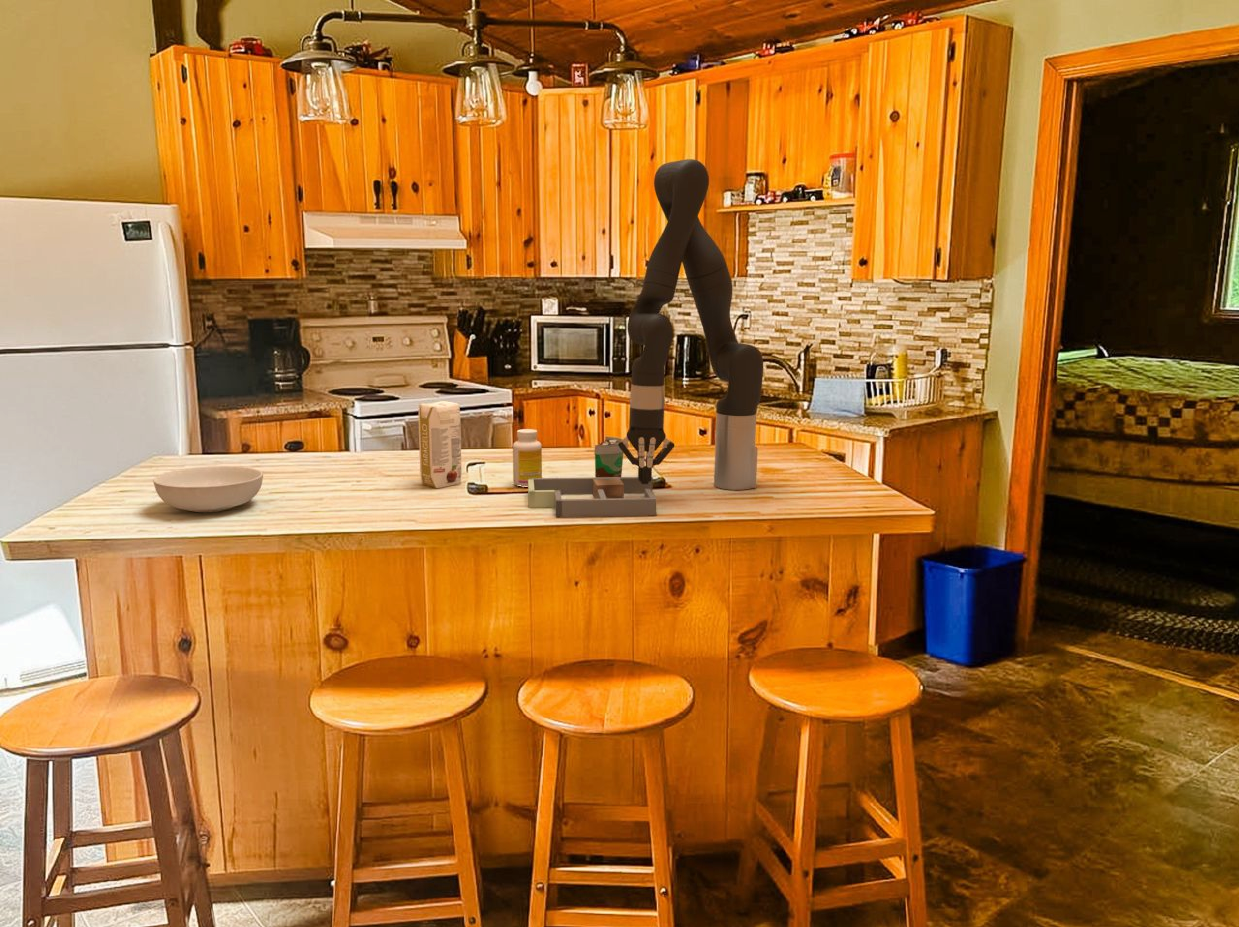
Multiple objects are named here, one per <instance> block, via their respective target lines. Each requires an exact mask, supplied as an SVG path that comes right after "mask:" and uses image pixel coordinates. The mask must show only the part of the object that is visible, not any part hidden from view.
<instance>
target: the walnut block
mask: <svg viewBox="0 0 1239 927" xmlns="http://www.w3.org/2000/svg"><path fill="white" fill-rule="evenodd" d="M598 489H603V491H604V493H605V496H606V498H607V499H610V498H625V497H624V496H625V493H624V484H623V482H622V481H621V480H620V478H616V479H593V494H592V496H593V499H597V490H598Z"/></svg>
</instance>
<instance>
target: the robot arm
mask: <svg viewBox="0 0 1239 927" xmlns="http://www.w3.org/2000/svg"><path fill="white" fill-rule="evenodd" d="M653 183H654V184H653V186H654V187H653V188H654V191H655V192H654V193H655V196H656V198H657V201H658V203H659V205H660V208H661V210H662V212H663V214H664V217H665V219H666V221H667V222H666V224H665V227H664V230H663V232H662V233H661V236H660V237H659V239H658V241H657V242H656V244H655V246H654V248H653V250H652V251H651V254H650V257H649V259H648V262H647V266H646V270H645V274H644V279H643V284H642V287H641V288H642V289H641V291H640V293H639V295H638V296H637V299H636V301H635V304H634V305H633V308H632V309H631V312H630V313H629V317H628V320H627V334H628V337H629V339H630V340H631V341H632V342H633V343H634V344H636V345H641V346H643V349H642V353H641V355H640V356H639V357H636V358H634V360H633V362H632V366H631V367H632V369H631V388H630V393H629V394H630V396H629V416H628V417H629V419H628V420H629V422H628V423H629V424H628V425H629V426H628V427H629V428H628V430H627V432H626V436H625V437H624V438H622V439H623V440H621V441H618V442H617V444H618V446H619V447H620V449H621V450H622V451H623V455H625V457H626V458H627V460H628V461H629V462H630V464H631V465H634V466H636V467H638V468H637V477H638V479H639V481H641V484H648V482H651V479H652V477H653V476H652V473H653V467H655V466H659V465H660V464H661V463H662V462H663V461H664V460H665V459H666V457H667V456H668V455H669V454H670V452H671V451H672V450H673V449H674V448H675V443H674V442H673V441H672V440H670V439H669V438H667V435H666V433H665V429H664V427H665V406H666V401H665V399H666V397H665V396H666V395H665V393H666V392H665V374H666V373H665V371H666V370H665V367H666V363H667V360H668V358H669V353H670V351H671V346H672V342H673V338H674V332H673V330H674V329H673V325H672V322H671V320H670V318H669V317H668V316H667V315H665V314H664V313H660V312H661V310H662V308H663V306H664V305H667V304H669V303H672V301H673V300H674V297H675V294H676V293H675V292H676V288H677V284H678V280H679V276H680V271H681V268H682V267H683V270H684V274H685V277H686V280H687V284H688V286H689V290H690V292H691V295H692V298H693V301H694V304H695V306H696V307H695V308H696V310H697V315H698V317H699V320H700V322H701V326H702V330H703V333H704V338H705V344H706V347H707V352H708V358H709V362H710V366H711V370H712V371H713V373H714V375H715V376H716V377H717V378H718V379H719V380H721V381H722V382H726V383H727V392H726V394H725V396H723V397H722V398H720V399H719V400H717V401H716V415H715V416H716V418H715V422H716V423H715V443H714V444H715V445H714V446H715V448H714V470H713V471H714V473H713V479H714V480H713V486H714V487H716V488H719V489H725V490H731V491H732V490H733V491H734V490H735V491H739V490H740V491H741V490H742V491H743V490H749V489H756V488H757V473H758V472H757V470H758V469H757V468H758V467H757V466H758V452H759V450H758V447H757V446H756V438H757V437H756V434H757V410H758V406H759V405H760V404H759V403H760V402H761V397H762V390H763V378H764V359H763V355H762V353H761V351H760V349H758V347H756V346H755V345H752V344H749V343H748V344H747V343H742V342H741V343H740V342H739V341H738V339H737V337H736V333H735V331H734V328H733V325H732V321H731V307H732V299H733V281H732V277H731V275H730V271H729V268H728V265H727V262H726V258H725V256H724V254H723V252H722V251H721V249H720V248H719V246H718V245H717V243H716V242H715V241H714V240H713V238H712V236H711V235H710V234H709V232H707V230H706V229H705V227H704V226H703V224H702V223H701V220H700V218H699V214H700V212H701V209H702V206H703V204H704V202H705V199H706V196H707V193H708V190H709V185H710V176H709V172H708V169H707V168H706V166H705V165H704V164H703V162H701V161H699V160H697V159H694V158H693V159H692V158H691V159H690V158H687V159H682V160H675V161H670V162H665V163H663V164H662V165H660V166H659V167H658V168H657V170H656V172H655V175H654V179H653ZM629 442H630V444H631V445H632V447H633V448H634V450H635V451H636V454H637V455H636V456H637V458H636V457H634V455H633V454H632V452H631V451H630V449H629V448H630V444H629ZM660 446H661V447H662V449H660V451H659V452H658V453H657V455H656V456H655V452H656V451H657V450H658V448H659V447H660ZM645 452H646V453H645ZM645 456H646V457H645Z"/></svg>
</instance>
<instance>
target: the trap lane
mask: <svg viewBox="0 0 1239 927" xmlns="http://www.w3.org/2000/svg"><path fill="white" fill-rule="evenodd" d="M616 478H620V480H621V481H622V482H623V484H624V494H644V497H632V498H631V497H627V498H625V497H624V498H610V499H607V498H606V496H605V493H604V491H603V489H598V490H597V499H594V498H562V495H587V494H588V495H593V479H616ZM653 480H654V478H653V476H652V479H651V482H648V484H641V481H639V479H638V476H621V477H595V476H594V477H591V476H590V477H542V478H528V488H527V493H528V494H527V495H528V497H527V498H528V508H529V509H548V508H553V509H554V512H555V517H556V518H592V517H593V518H598V517H599V518H601V517H602V518H605V517H606V518H607V517H608V518H611V517H648V516H647V515H656V516H657V503H658V502H657V501H658V500H657V499H658V498H656V496H655V494H654V493H653V488H654V486H653V485H654V481H653Z"/></svg>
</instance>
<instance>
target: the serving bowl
mask: <svg viewBox="0 0 1239 927" xmlns="http://www.w3.org/2000/svg"><path fill="white" fill-rule="evenodd" d="M263 479H264V473H263V472H262V471H261V470H260V469H256V468H253V467H248V466H237V465H235V466H233V465H227V466H226V465H218V466H217V465H215V466H213V465H211V466H197V467H190V468H189V467H188V468H183V469H178V470H170V471H167V472H165V473H162V474H158V475H157V476H156V477H154V478H153V485H154V488H155V492H156V494H157V496H158V497H159V498H160V499H161V500H162V501H163V502H164V503H165V504H167V505H168V506H171V507H172V508H176V509H179V510H184V511H189V512H192V513H193V512H194V513H215V512H222V511H223V512H224V511H227V510H229V509H232V508H235V507H237V506H240V505H244V504H245V503H247V502H249V501H251V500H252V499H254V498H255V497H256V496H257V494H258V493H259V492H260V490H261V487H262V485H263Z"/></svg>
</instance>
